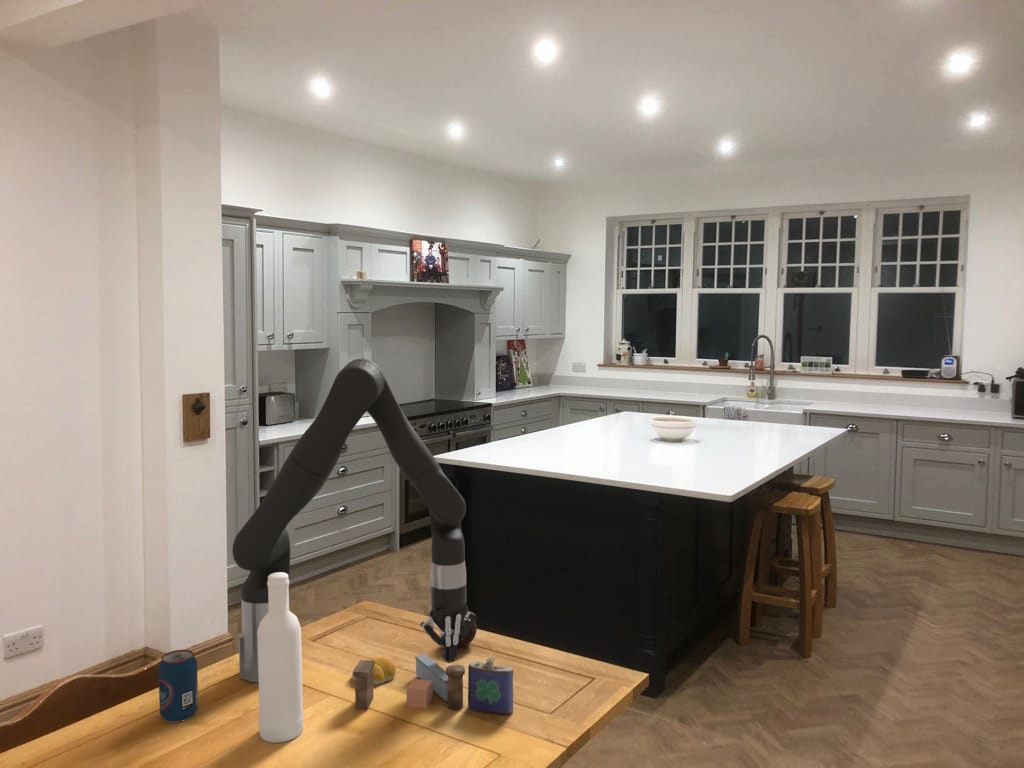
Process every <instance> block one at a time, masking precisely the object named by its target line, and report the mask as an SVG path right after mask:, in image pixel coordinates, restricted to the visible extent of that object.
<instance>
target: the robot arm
mask: <svg viewBox="0 0 1024 768" xmlns="http://www.w3.org/2000/svg"><path fill="white" fill-rule="evenodd" d="M366 413H368V414H369V415H370V417H371V418H372V419H373V421H374V422H375V424H376V425H377V428H378V429H379V431H380V432H381V435H382V436H383V439H384V441H385V443H386V446H387V448H388V450H389V452H390V454H391V456H392V458H393V460H394V461H395V463H396V464H397V467H399V469H400V470H401V472H402V474H403V475H404V476H405V478H406V479H407V480H408V482H409V483H410V484H411V485H412V486H413V488H414V489H415V490H416V491H417V492H418V493H419V495H420V496H421V498H422V500H423V501H424V503H425V504H426V506H427V508H428V511H429V513H428V514H429V522H430V523H429V524H430V530H431V567H430V579H429V580H430V602H431V603H430V604H431V605H430V606H431V610H430V612H429V617H428V619H427V620H425V621H422V622H420V626H419V627H421V629H423V631H424V632H425V633H426V635H428V637H429V638H430V639H431V640H432V641H433V642H434V643H436V644H437V645H438V646H441V657H442V659H443V660H444V662H446V663H447V664H451V663H454V662H456V659H457V657H458V647H457V644H458V642H459V641H460V640H464V639H465V638H466V636H467V635H468V633H469V631H470V630H471V628H472V626H473V625H474V623H476V621H477V619H478V615H476V614H475V613H474V612H472V611H469V607H468V605H467V599H468V598H467V569H466V568H467V567H466V557H465V556H466V550H465V549H466V548H465V547H466V546H465V538H464V534H463V531H462V521H463V519H464V517H465V515H466V513H467V504H466V500H465V499H464V496H462V495H461V493H460V492H459V491H458V489H457V488H456V486H454V484H453V483H452V482H451V480H450V479H449V478H448V476H447V475H445V473H444V472H443V469H442V468H441V466H440V464H439V462H438V461H437V459H436V458H435V457H434V456H433V454H432V453H431V452H432V451H430V449H428V447H427V446H426V444H425V443H424V441H423V440H422V438H421V437H420V436H419V434H418V432H417V431H416V430H415V428H414V427H413V426H412V423H410V421H409V419H408V418H407V416H406V414H405V413H404V411H403V409H402V408H401V406H400V405H399V403H398V401H397V399H396V397H395V395H394V393H393V391H392V389H391V387H390V385H389V383H388V381H387V379H386V376H385V375H384V372H383V371H382V369H381V368H380V366H379V365H378V364H377V363H375V361H372V360H371V359H368V358H362V357H361V358H355V359H353V360H351V361H349V362H348V363H347V364H345V366H343V367H342V368H341V370H340V371H339V372H338V373H337V374H336V376H335V379H334V381H333V383H332V385H331V388H330V390H329V392H328V394H327V396H326V398H325V401H324V403H323V405H322V407H321V409H320V411H319V413H318V414H317V416H316V418H315V419H314V420H313V422H311V424H310V425H309V426H308V427H307V429H306V430H305V432H304V433H303V434H302V435H301V437H300V438H299V439H298V441H297V442H296V444H295V445H294V446H293V448H292V450H291V451H290V453H289V454H288V455H287V457H286V459H285V460H284V462H283V464H282V467H281V468H280V470H279V472H278V473H277V475H276V477H275V479H274V480H273V482H272V483H271V485H270V487H269V488H268V491H267V492H266V494H265V496H264V497H263V499H262V500H261V502H260V504H259V506H258V507H257V509H256V510H254V512H253V513H252V515H251V516H250V517H249V519H248V520H247V521H246V523H244V525H243V526H242V528H240V530H239V532H238V533H237V534H236V535H235V538H234V540H233V544H232V557H233V560H234V562H235V564H236V566H238V567H239V568H240V569H242V570H245V571H249V574H248V576H247V577H246V580H244V582H243V584H242V586H241V588H240V589H241V591H240V592H241V593H240V594H241V595H240V597H241V628H242V629H241V633H240V634H238V635H239V636H238V657H239V658H238V661H239V664H238V665H239V666H238V667H239V679H240V680H242V679H243V680H245V681H248V682H251V683H258V684H259V678H258V637H257V632H258V628H259V625H260V622H261V620H262V619H263V618H264V617H265V616H266V615H267V614H268V613H269V601H268V586H267V582H268V576H269V575H270V574H272V573H277V572H283V573H286V574H288V579H289V580H290V573H291V541H290V536H289V535H290V534H289V532H288V531H287V529H286V528H287V526H288V525H289V524H290V522H291V521H292V520H293V519H294V518H295V517H296V516H297V515H298V514H299V513H300V512H301V511H302V510H303V509H304V508H305V507H307V505H308V504H309V503H310V502H311V501H312V500H313V499H314V498H315V496H316V495H317V494H318V493H319V492H320V490H321V489H322V488H323V486H324V485H325V484H326V482H327V480H328V478H329V477H330V475H331V474H332V473H333V470H334V468H335V467H336V465H337V463H338V461H339V458H340V456H341V454H342V452H343V449H344V446H345V444H346V441H347V440H348V437H349V436H350V434H351V432H352V431H353V429H354V428H355V426H356V425H358V423H359V422H360V421H361V418H363V416H364V415H365V414H366ZM462 621H463V622H462ZM434 624H435V625H436V627H437V628H438V632H439V635H440V636H439V635H438V634H437V632H436V631H435V630H434V629H435V625H434Z"/></svg>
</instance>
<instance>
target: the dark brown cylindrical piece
mask: <svg viewBox="0 0 1024 768" xmlns="http://www.w3.org/2000/svg"><path fill="white" fill-rule="evenodd" d="M445 671H446V675H448V701H447V709H448V710H450V711H453V712H454V711H460V710H462V709H463V708H464V675H465V673H466V668H465V666H464V665H461V664H450V665H449V666H447V667H445Z"/></svg>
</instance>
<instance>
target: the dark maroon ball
mask: <svg viewBox="0 0 1024 768" xmlns="http://www.w3.org/2000/svg"><path fill="white" fill-rule="evenodd" d="M462 622H463V621H462ZM477 628H478V627H477V624H476V622H475V623H474V625H473V626H472V628H471V630H470V631H469V633H468V635H467V636H466V638H465V639H464V640H460V641H459V642H458V644H457V648H463V647H466V646H468V645H470V644H471V643H472V642H473V641H474V639H475V637H476V634H477Z"/></svg>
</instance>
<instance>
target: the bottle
mask: <svg viewBox="0 0 1024 768" xmlns="http://www.w3.org/2000/svg"><path fill="white" fill-rule="evenodd" d="M267 586H268V601H269V613H268V614H267V615H266V616H265V617H264V618H263V619H262V620H261V622H260V625H259V628H258V632H257V637H258V678H259V683H258V704H259V705H258V709H259V710H258V711H259V712H258V713H259V714H258V715H259V716H258V717H259V718H258V727H259V728H258V729H259V737H260V738H261V739H262V740H263V741H264V742H265V741H266V742H268V743H276V744H277V743H278V744H279V743H285V742H289V741H292V740H293V739H295V738H297V737H299V736H300V735H301V734H302V733H303V731H304V712H303V710H304V709H303V708H304V707H303V706H304V705H303V667H302V666H303V665H302V664H303V661H302V660H303V659H302V655H303V653H302V628H301V625H300V621H299V619H298V617H297V616H296V615H295V614H294V613H293V612H291V610H290V594H289V592H290V590H289V589H290V588H289V587H290V578H289V579H288V574H286V573H283V572H277V573H272V574H270V575H269V576H268V582H267Z"/></svg>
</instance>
